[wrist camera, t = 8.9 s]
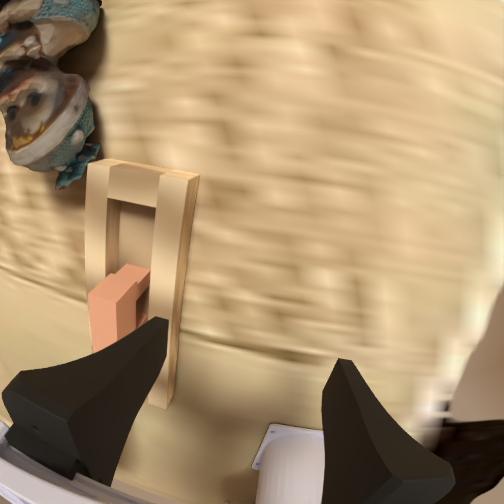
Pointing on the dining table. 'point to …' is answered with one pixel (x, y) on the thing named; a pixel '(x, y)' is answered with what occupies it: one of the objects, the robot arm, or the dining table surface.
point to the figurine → (46, 85)
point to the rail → (142, 242)
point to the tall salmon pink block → (117, 305)
